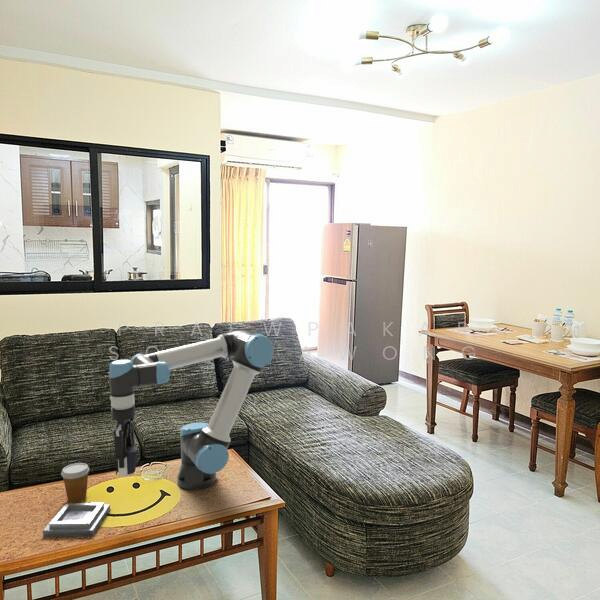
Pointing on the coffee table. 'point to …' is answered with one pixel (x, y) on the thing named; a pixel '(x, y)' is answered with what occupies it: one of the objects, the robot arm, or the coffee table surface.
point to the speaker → (130, 459)
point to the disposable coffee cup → (75, 481)
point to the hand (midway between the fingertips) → (126, 471)
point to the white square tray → (77, 519)
